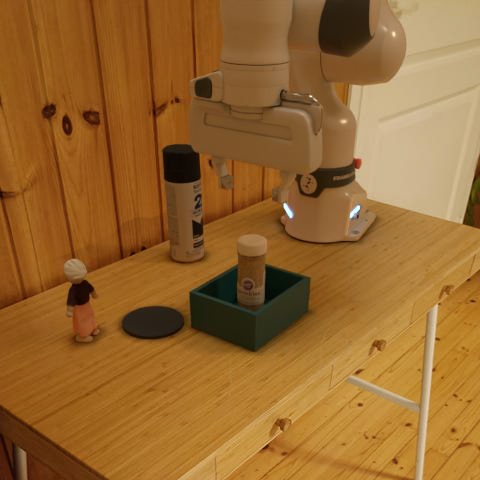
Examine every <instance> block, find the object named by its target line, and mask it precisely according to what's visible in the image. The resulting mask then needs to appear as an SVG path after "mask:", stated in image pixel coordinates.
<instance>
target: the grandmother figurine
mask: <svg viewBox="0 0 480 480" xmlns="http://www.w3.org/2000/svg"><path fill="white" fill-rule="evenodd" d="M63 273H64V275H65V278H66V279H67V281H68V282H69V283H70V284H71V286H70V287H69V289H68V292H67V298H66V312H65V315H66V317H67V318H71V321H72V332H73V333H74V334H76V336H75V341H76V342H77V343H91V342H92V341H94V337H93V336H98V335H99V334H100V333H101V332H100V330H99V328H98V324H97V319H96V314H95V312H94V310H93V308H92V304H91V302H90V300H91V298H92V299H93V300H96V299H98V298H99V294H98V293H97V291H96V290H95V287H94V286H93V285H92V284H91V283H90V282H89V281H88V280H87V279H85V278H86V277H87V275H88V269H87V266H86V265H85V264H84V262H83V261H81V260H79V259H77V258H71V259H68V260H67V261H66V262H65V263H64V264H63Z"/></svg>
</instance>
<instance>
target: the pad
mask: <svg viewBox="0 0 480 480" xmlns="http://www.w3.org/2000/svg"><path fill="white" fill-rule="evenodd" d="M184 324H185V318H184V315H183V314H182V313H181V312H180V311H179V310H177V309H175V308H173V307H169V306H164V305H163V306H162V305H148V306H143V307H139V308H136V309H133V310H131V311H130V312H128V313H127V314H126V315H125V316H123V318H122V320H121V327H122V329H123V331H124V332H125V333H126V334H128V335H129V336H131V337H134V338H137V339H143V340H156V339H163V338H167V337H170V336H172V335H174V334H177V333H179V331H181V330H182V328H183V327H184Z"/></svg>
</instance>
